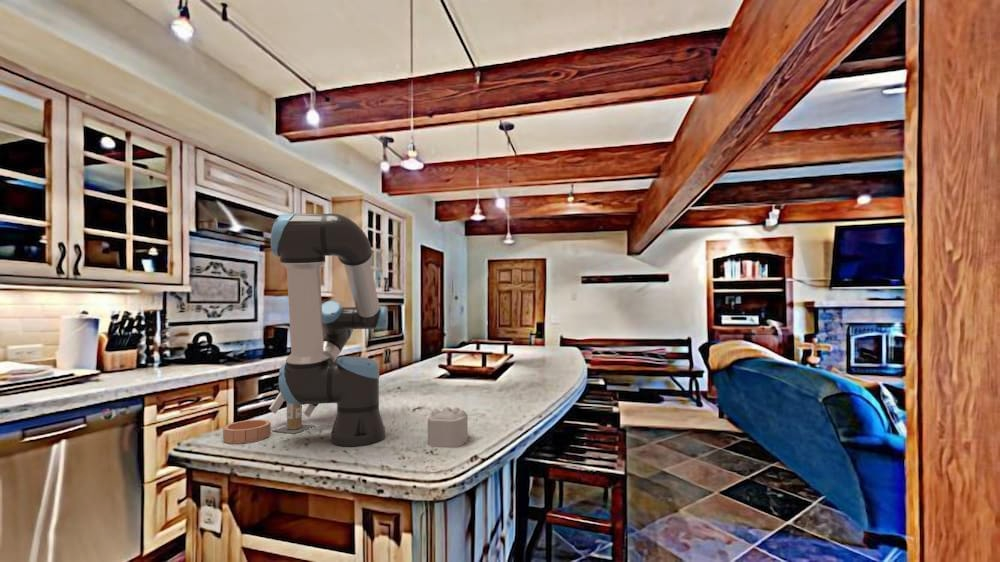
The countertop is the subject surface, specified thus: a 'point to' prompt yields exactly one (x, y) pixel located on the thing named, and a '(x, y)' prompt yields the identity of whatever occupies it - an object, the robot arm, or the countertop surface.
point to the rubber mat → (284, 429)
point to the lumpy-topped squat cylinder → (447, 428)
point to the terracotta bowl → (246, 431)
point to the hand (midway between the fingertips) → (288, 412)
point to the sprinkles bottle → (294, 416)
